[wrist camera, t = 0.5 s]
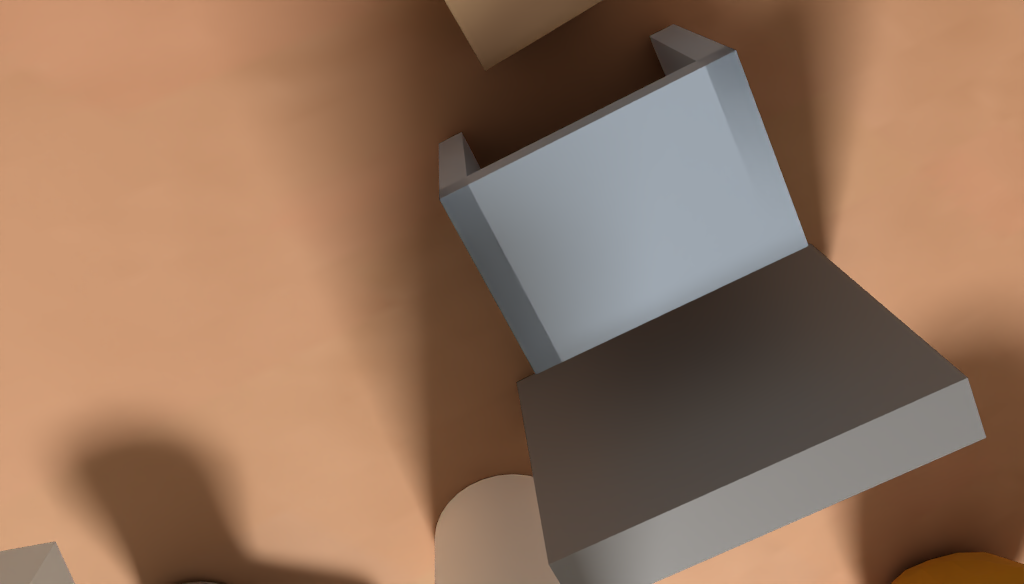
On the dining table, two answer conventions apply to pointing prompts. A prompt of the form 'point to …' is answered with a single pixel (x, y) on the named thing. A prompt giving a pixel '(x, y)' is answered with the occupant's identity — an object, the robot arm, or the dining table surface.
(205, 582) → the pipe
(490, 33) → the wooden slab
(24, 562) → the robot arm
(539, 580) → the cylindrical container
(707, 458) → the wall
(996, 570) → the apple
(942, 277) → the dining table surface
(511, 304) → the block
